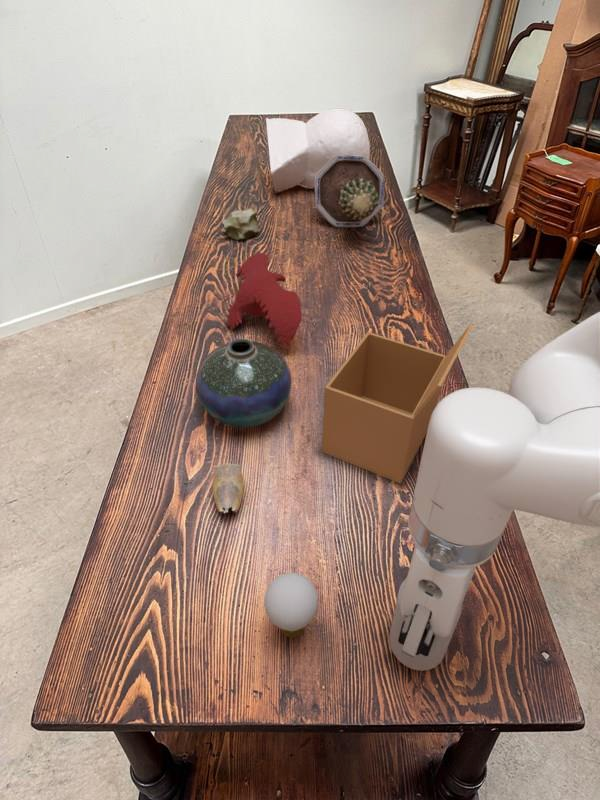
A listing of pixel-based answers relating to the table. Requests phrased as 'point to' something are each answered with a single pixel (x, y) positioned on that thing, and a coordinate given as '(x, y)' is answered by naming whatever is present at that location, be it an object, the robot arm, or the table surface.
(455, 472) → the robot arm
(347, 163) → the potted plant
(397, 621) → the beverage can
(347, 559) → the table surface
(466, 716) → the table surface
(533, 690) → the table surface
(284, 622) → the light bulb
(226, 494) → the shell
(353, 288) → the table surface
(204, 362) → the vase
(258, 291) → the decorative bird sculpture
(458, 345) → the flap
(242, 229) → the greenish rock
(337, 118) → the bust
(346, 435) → the carton
